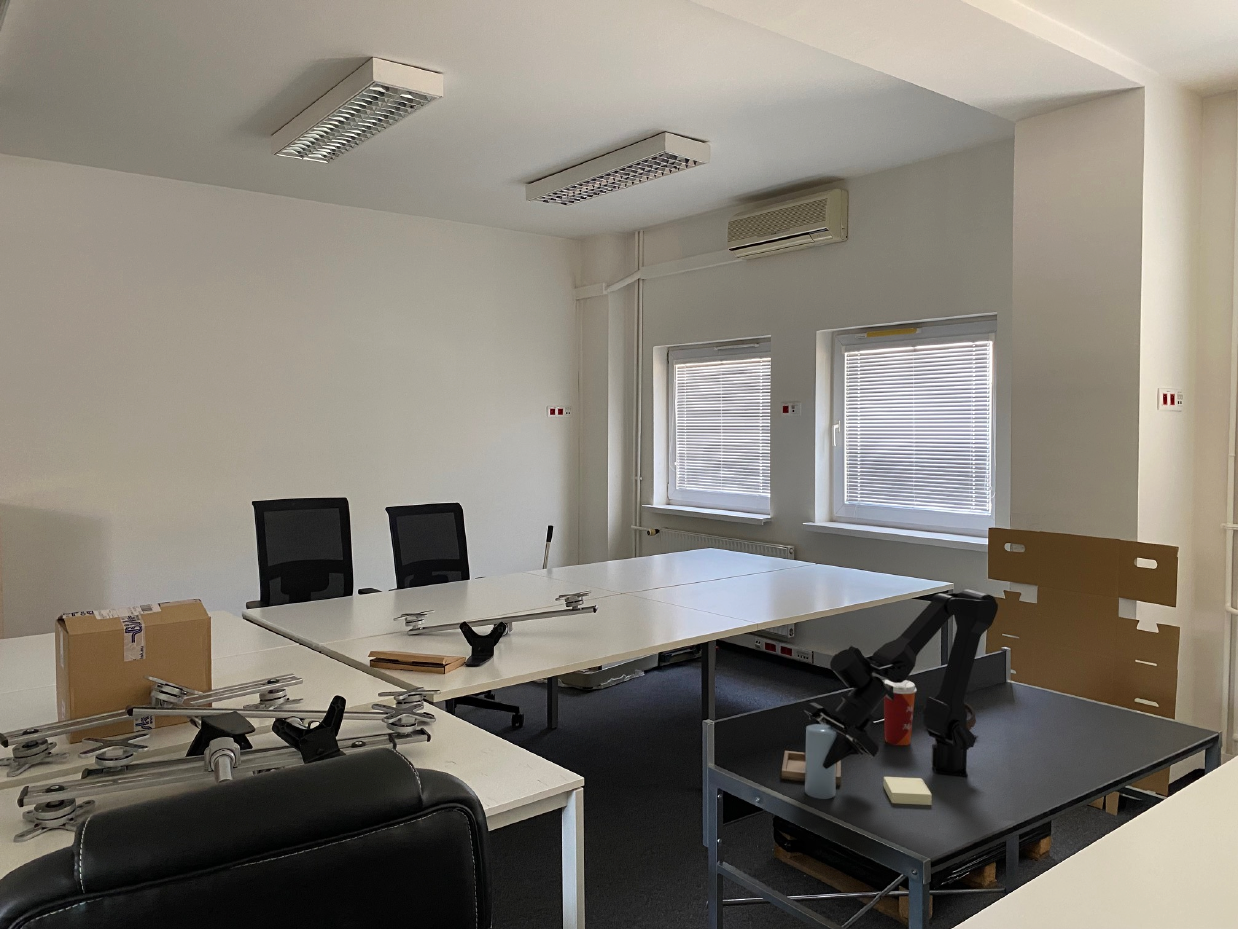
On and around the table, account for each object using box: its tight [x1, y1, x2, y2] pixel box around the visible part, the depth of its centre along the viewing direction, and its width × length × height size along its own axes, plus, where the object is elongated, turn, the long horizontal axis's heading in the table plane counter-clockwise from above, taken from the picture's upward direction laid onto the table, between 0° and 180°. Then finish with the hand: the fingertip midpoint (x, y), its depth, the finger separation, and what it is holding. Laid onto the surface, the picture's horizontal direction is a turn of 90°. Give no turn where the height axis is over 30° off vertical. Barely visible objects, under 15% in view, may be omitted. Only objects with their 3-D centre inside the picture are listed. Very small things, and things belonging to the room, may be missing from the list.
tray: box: [781, 750, 842, 786], centre depth 184 cm, size 12×11×2 cm
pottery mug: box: [923, 701, 977, 731], centre depth 211 cm, size 12×10×8 cm
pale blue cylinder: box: [804, 724, 838, 800], centre depth 174 cm, size 6×6×13 cm
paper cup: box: [883, 679, 917, 747], centre depth 202 cm, size 8×8×14 cm
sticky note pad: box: [883, 776, 933, 806], centre depth 173 cm, size 8×8×2 cm
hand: (815, 761), depth 173 cm, fingers closed on pale blue cylinder, 6 cm apart
